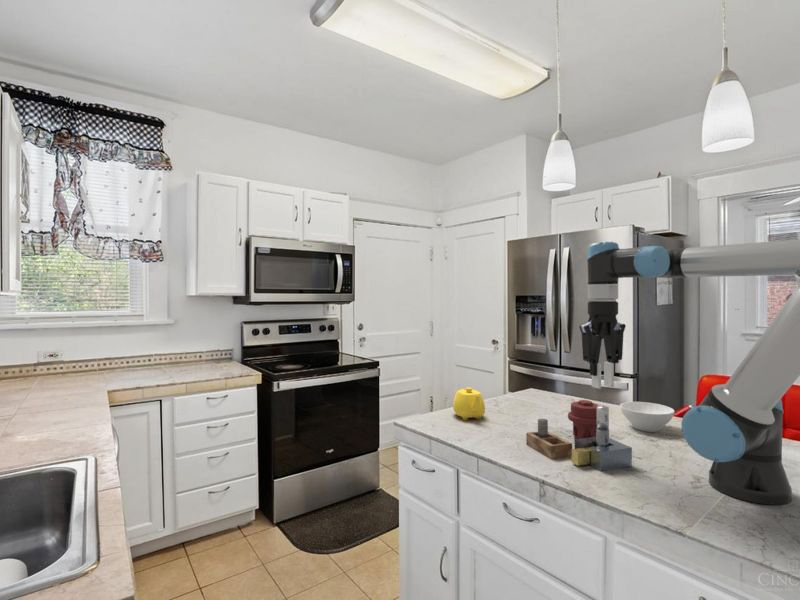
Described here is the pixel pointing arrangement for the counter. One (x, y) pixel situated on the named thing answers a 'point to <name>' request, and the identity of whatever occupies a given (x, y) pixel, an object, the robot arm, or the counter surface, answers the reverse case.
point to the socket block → (607, 454)
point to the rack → (548, 442)
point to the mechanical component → (583, 419)
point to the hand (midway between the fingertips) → (602, 386)
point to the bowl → (647, 415)
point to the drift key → (581, 456)
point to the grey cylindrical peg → (602, 426)
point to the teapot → (469, 404)
